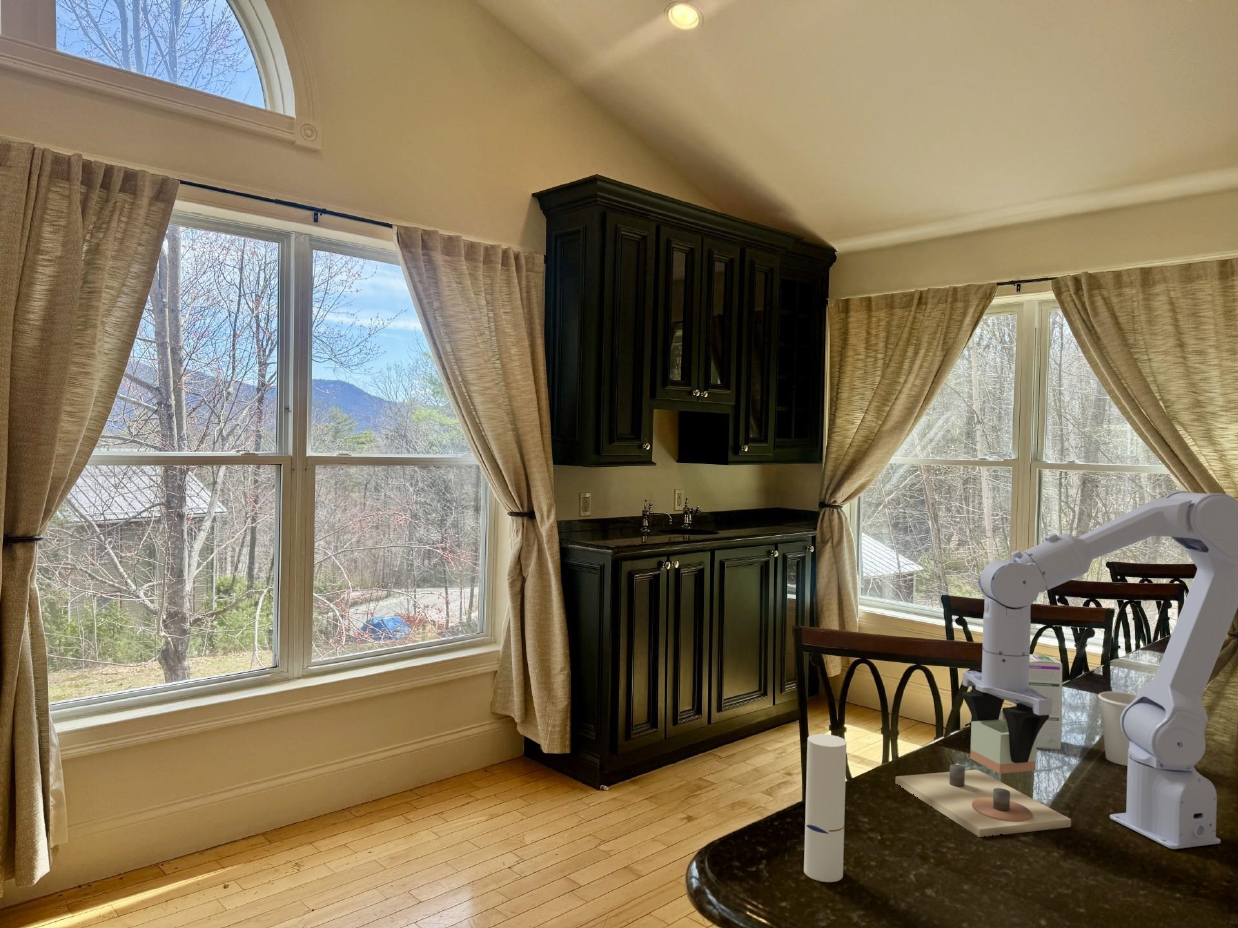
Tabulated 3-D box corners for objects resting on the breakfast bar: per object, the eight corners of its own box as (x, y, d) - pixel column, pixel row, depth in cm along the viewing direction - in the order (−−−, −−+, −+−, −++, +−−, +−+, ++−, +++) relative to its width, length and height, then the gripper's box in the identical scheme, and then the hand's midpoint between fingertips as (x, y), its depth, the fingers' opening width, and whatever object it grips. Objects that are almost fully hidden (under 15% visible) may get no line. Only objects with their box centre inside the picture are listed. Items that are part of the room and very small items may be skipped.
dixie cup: (1166, 772, 131) (1168, 707, 131) (1107, 766, 133) (1108, 703, 133) (1144, 754, 139) (1145, 693, 139) (1088, 749, 141) (1090, 689, 141)
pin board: (1070, 826, 110) (1071, 799, 110) (979, 836, 106) (980, 809, 106) (976, 775, 127) (977, 752, 127) (895, 783, 124) (896, 759, 123)
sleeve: (1035, 770, 111) (1036, 732, 111) (999, 773, 109) (1000, 734, 109) (1005, 755, 116) (1006, 719, 116) (970, 758, 114) (971, 721, 114)
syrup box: (1062, 750, 140) (1065, 662, 140) (1024, 746, 141) (1026, 660, 141) (1052, 739, 146) (1054, 655, 146) (1015, 736, 147) (1017, 652, 147)
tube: (836, 863, 98) (840, 734, 98) (847, 881, 94) (851, 746, 94) (799, 863, 98) (803, 733, 98) (809, 881, 94) (813, 746, 94)
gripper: (945, 640, 118) (942, 737, 118) (1020, 665, 104) (1016, 775, 104) (987, 639, 120) (985, 734, 120) (1067, 663, 106) (1064, 771, 106)
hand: (1002, 753), depth 112 cm, fingers closed on sleeve, 6 cm apart
